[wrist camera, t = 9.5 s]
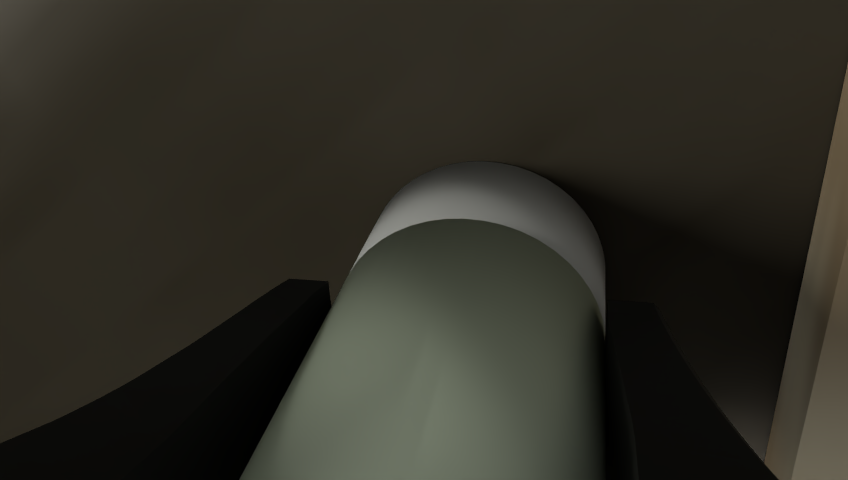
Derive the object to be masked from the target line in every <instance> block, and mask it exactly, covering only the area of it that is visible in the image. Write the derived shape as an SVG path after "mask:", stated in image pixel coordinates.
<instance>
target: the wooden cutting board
mask: <svg viewBox="0 0 848 480" xmlns="http://www.w3.org/2000/svg"><path fill="white" fill-rule="evenodd" d="M764 464H765V465H766V466H767V467H768V468H769V469H770V470H771V471H772V473H773V474H774V475H775V476H776V477H777V478H778V479H779V480H848V65H847V70H846V75H845V80H844V84H843V89H842V94H841V99H840V104H839V108H838V113H837V118H836V123H835V127H834V132H833V137H832V142H831V146H830V151H829V156H828V161H827V165H826V170H825V175H824V180H823V185H822V189H821V194H820V199H819V204H818V208H817V213H816V218H815V223H814V227H813V232H812V237H811V242H810V246H809V251H808V256H807V261H806V266H805V270H804V275H803V280H802V285H801V289H800V294H799V299H798V304H797V308H796V313H795V318H794V323H793V327H792V332H791V337H790V342H789V346H788V351H787V356H786V361H785V366H784V370H783V375H782V380H781V385H780V389H779V394H778V399H777V404H776V408H775V413H774V418H773V423H772V427H771V432H770V437H769V442H768V447H767V451H766V456H765V461H764Z"/></svg>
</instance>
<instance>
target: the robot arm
mask: <svg viewBox="0 0 848 480" xmlns="http://www.w3.org/2000/svg"><path fill="white" fill-rule="evenodd" d="M330 309H331V301H330V292H329V284H328V281H314V280H299V279H288V280H287V281H285V282H283V283H282V284H280V285H278V286H277V287H275V288H274V289H272V290H270V291H269V292H267V293H266V294H264V295H263V296H261V297H260V298H259V299H257V300H256V301H254V302H253V303H251V304H250V305H248V306H247V307H245V308H244V309H243V310H241V311H240V312H238V313H237V314H235V315H234V316H232V317H231V318H229V319H228V320H226V321H225V322H223V323H222V324H220V325H219V326H218V327H216V328H215V329H213V330H212V331H210V332H209V333H207V334H206V335H204V336H203V337H201V338H200V339H198V340H197V341H195V342H194V343H192V344H191V345H189V346H188V347H186V348H184V349H183V350H181V351H179V352H178V353H176V354H175V355H173V356H171V357H170V358H168V359H166V360H165V361H163V362H161V363H160V364H158V365H157V366H155V367H153V368H152V369H150V370H148V371H147V372H145V373H144V374H142V375H140V376H139V377H137V378H135V379H134V380H132V381H130V382H128V383H127V384H125V385H123V386H121V387H120V388H118V389H116V390H114V391H112V392H110V393H108V394H107V395H105V396H103V397H101V398H99V399H97V400H95V401H93V402H91V403H89V404H87V405H85V406H83V407H81V408H79V409H77V410H75V411H73V412H71V413H69V414H67V415H65V416H63V417H61V418H59V419H56V420H54V421H52V422H50V423H47V424H45V425H43V426H40V427H38V428H36V429H33V430H31V431H29V432H26V433H24V434H22V435H19V436H17V437H14V438H12V439H10V440H7V441H5V442H3V443H0V480H239V479H240V477H241V475H242V474H243V472H244V470H245V468H246V466H247V464H248V462H249V460H250V459H251V457H252V455H253V453H254V451H255V449H256V447H257V445H258V444H259V442H260V440H261V438H262V436H263V434H264V432H265V430H266V429H267V427H268V425H269V423H270V421H271V419H272V417H273V415H274V414H275V412H276V410H277V408H278V406H279V404H280V402H281V400H282V399H283V397H284V395H285V393H286V391H287V389H288V387H289V385H290V384H291V382H292V380H293V378H294V376H295V374H296V372H297V370H298V369H299V367H300V365H301V363H302V361H303V359H304V357H305V355H306V354H307V352H308V350H309V348H310V346H311V344H312V342H313V340H314V339H315V337H316V335H317V333H318V331H319V329H320V327H321V325H322V324H323V322H324V320H325V318H326V316H327V314H328V312H329V310H330ZM605 430H606V480H779V479H778V478H777V477H776V476H775V475H774V474H773V473H772V471H771V470H770V469H769V468H768V467H767V466H766V465H765V464H764V462H763V461H762V460H761V459H760V458H759V457H758V455H757V454H756V453H755V452H754V451H753V450H752V448H751V447H750V446H749V445H748V443H747V442H746V441H745V440H744V438H743V437H742V436H741V435H740V433H739V432H738V431H737V430H736V428H735V427H734V426H733V425H732V423H731V422H730V421H729V420H728V418H727V417H726V416H725V414H724V413H723V412H722V410H721V409H720V407H719V406H718V405H717V403H716V402H715V400H714V399H713V398H712V396H711V395H710V393H709V392H708V390H707V389H706V387H705V386H704V385H703V383H702V382H701V380H700V379H699V377H698V376H697V374H696V373H695V371H694V370H693V368H692V367H691V365H690V364H689V362H688V360H687V359H686V357H685V355H684V354H683V352H682V350H681V349H680V347H679V345H678V344H677V342H676V340H675V338H674V337H673V335H672V333H671V331H670V329H669V327H668V325H667V323H666V321H665V319H664V317H663V315H662V313H661V311H660V310H659V309H658V308H657V306H656V305H655V304H654V303H647V302H632V301H616V300H608V304H607V317H606V330H605Z"/></svg>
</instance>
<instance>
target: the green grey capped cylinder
mask: <svg viewBox="0 0 848 480" xmlns="http://www.w3.org/2000/svg"><path fill="white" fill-rule="evenodd" d="M239 480H606V430H605V259H604V253H603V248H602V245H601V242H600V239H599V236H598V234H597V232H596V230H595V228H594V226H593V224H592V222H591V221H590V219H589V218H588V216H587V215H586V213H585V212H584V210H583V209H582V208H581V207H580V206H579V205H578V204H577V203H576V202H575V200H574V199H573V198H572V197H570V196H569V195H568V194H567V193H566V192H565V191H563V190H562V189H561V188H560V187H558V186H557V185H555V184H553V183H552V182H550V181H549V180H547V179H545V178H543V177H541V176H539V175H537V174H535V173H533V172H531V171H528V170H525V169H522V168H519V167H517V166H512V165H507V164H503V163H496V162H486V161H477V162H462V163H456V164H450V165H447V166H443V167H440V168H436V169H434V170H432V171H429V172H427V173H425V174H422V175H421V176H419V177H417V178H416V179H414V180H412V181H411V182H409V183H408V184H407V185H406V186H404V187H403V188H402V189H401V190H399V191H398V192H397V194H396V195H395V196H394V197H393V198H392V199H391V200H390V201H389V203H388V204H387V206H386V207H385V209H384V210H383V212H382V213H381V215H380V217H379V219H378V221H377V222H376V224H375V226H374V228H373V230H372V232H371V234H370V236H369V237H368V239H367V241H366V243H365V245H364V247H363V249H362V251H361V252H360V254H359V256H358V258H357V260H356V262H355V264H354V266H353V267H352V269H351V271H350V273H349V275H348V277H347V279H346V281H345V282H344V284H343V286H342V288H341V290H340V292H339V294H338V296H337V297H336V299H335V301H334V303H333V305H332V307H331V309H330V310H329V312H328V314H327V316H326V318H325V320H324V322H323V324H322V325H321V327H320V329H319V331H318V333H317V335H316V337H315V339H314V340H313V342H312V344H311V346H310V348H309V350H308V352H307V354H306V355H305V357H304V359H303V361H302V363H301V365H300V367H299V369H298V370H297V372H296V374H295V376H294V378H293V380H292V382H291V384H290V385H289V387H288V389H287V391H286V393H285V395H284V397H283V399H282V400H281V402H280V404H279V406H278V408H277V410H276V412H275V414H274V415H273V417H272V419H271V421H270V423H269V425H268V427H267V429H266V430H265V432H264V434H263V436H262V438H261V440H260V442H259V444H258V445H257V447H256V449H255V451H254V453H253V455H252V457H251V459H250V460H249V462H248V464H247V466H246V468H245V470H244V472H243V474H242V475H241V477H240V479H239Z"/></svg>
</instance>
